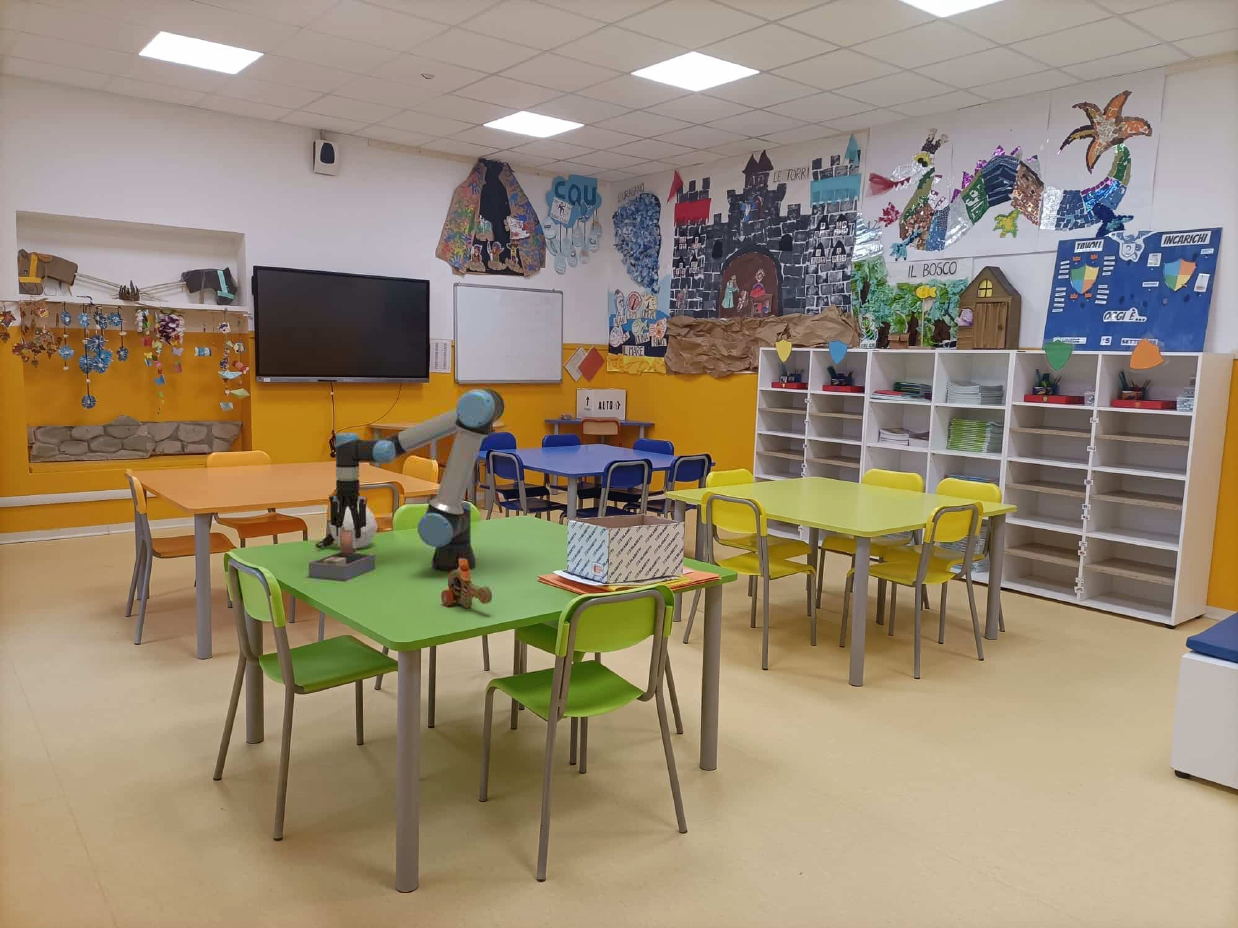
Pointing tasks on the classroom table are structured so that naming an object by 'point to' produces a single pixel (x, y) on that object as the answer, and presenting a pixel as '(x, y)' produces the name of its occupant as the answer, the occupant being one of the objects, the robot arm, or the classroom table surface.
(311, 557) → the classroom table surface
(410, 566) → the classroom table surface
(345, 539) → the red cylinder
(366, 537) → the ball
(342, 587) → the classroom table surface
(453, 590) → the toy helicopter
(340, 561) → the wooden cube
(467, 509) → the robot arm
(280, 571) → the classroom table surface
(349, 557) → the tote
